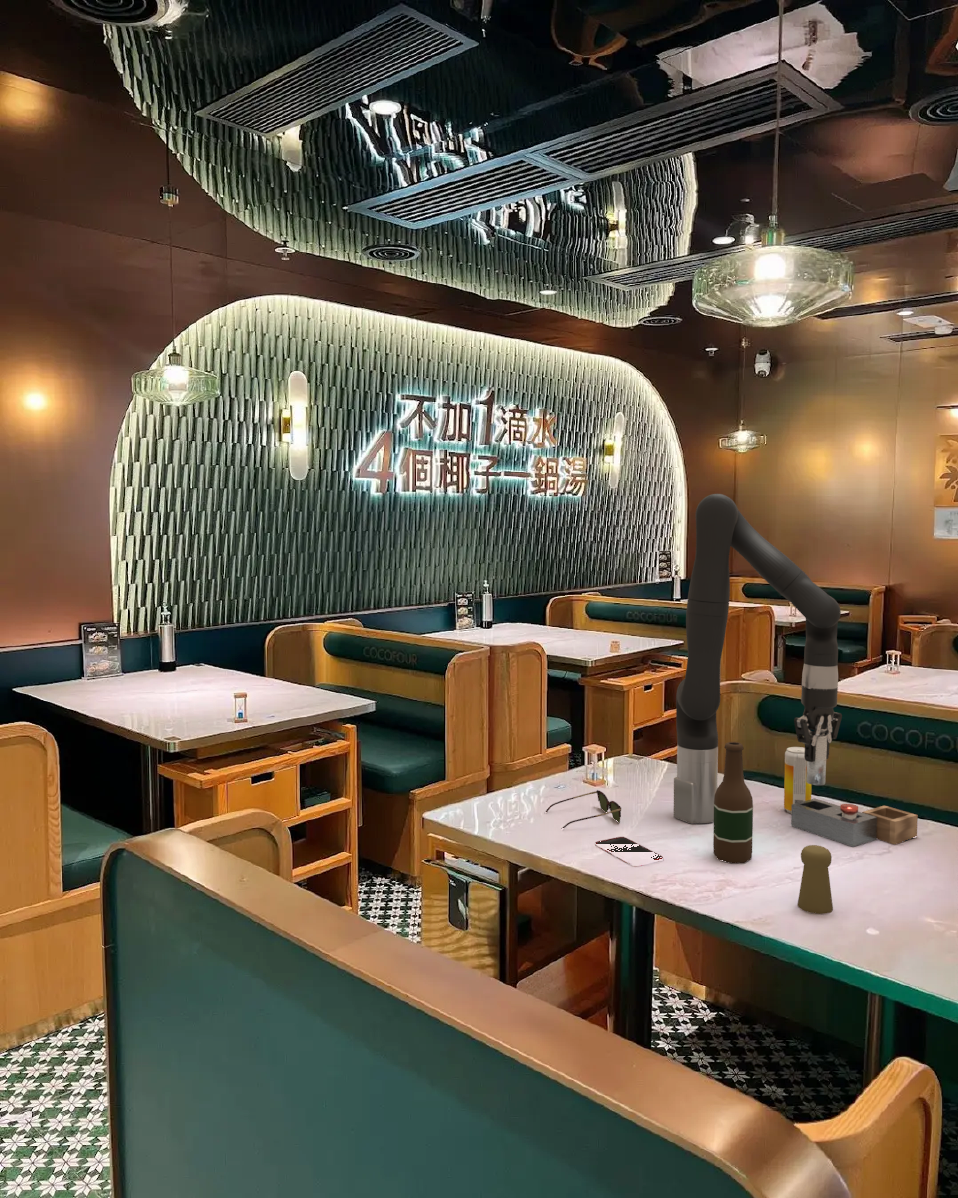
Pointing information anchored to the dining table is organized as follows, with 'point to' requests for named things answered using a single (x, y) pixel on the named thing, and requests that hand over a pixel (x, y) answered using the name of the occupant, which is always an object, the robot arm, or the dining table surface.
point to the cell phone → (625, 841)
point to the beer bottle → (733, 811)
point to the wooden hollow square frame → (894, 824)
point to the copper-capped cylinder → (849, 811)
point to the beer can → (795, 778)
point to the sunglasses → (604, 804)
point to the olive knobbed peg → (815, 880)
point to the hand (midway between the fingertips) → (816, 759)
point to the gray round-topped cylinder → (818, 762)
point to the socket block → (833, 822)
